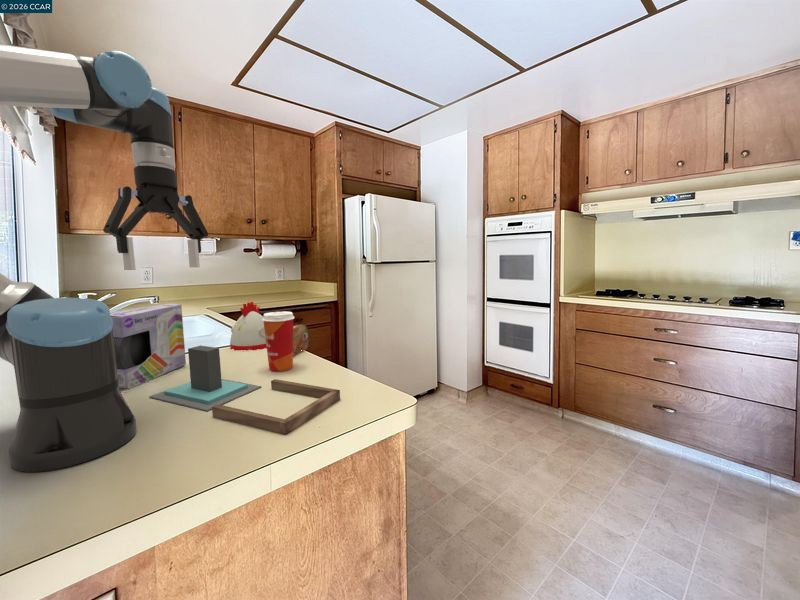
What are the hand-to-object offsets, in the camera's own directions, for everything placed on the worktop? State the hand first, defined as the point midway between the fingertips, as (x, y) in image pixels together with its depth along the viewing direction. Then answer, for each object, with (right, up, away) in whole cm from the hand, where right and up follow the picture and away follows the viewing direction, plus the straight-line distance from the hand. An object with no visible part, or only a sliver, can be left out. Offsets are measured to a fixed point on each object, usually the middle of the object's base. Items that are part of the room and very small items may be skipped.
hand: (164, 268), depth 79 cm
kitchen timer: (+2, -23, +44) cm, 49 cm away
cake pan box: (-12, -27, +12) cm, 32 cm away
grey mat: (+9, -28, +1) cm, 29 cm away
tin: (+19, -24, +34) cm, 45 cm away
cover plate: (+9, -27, +1) cm, 29 cm away
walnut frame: (+27, -28, -7) cm, 40 cm away
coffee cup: (+20, -26, +18) cm, 37 cm away
